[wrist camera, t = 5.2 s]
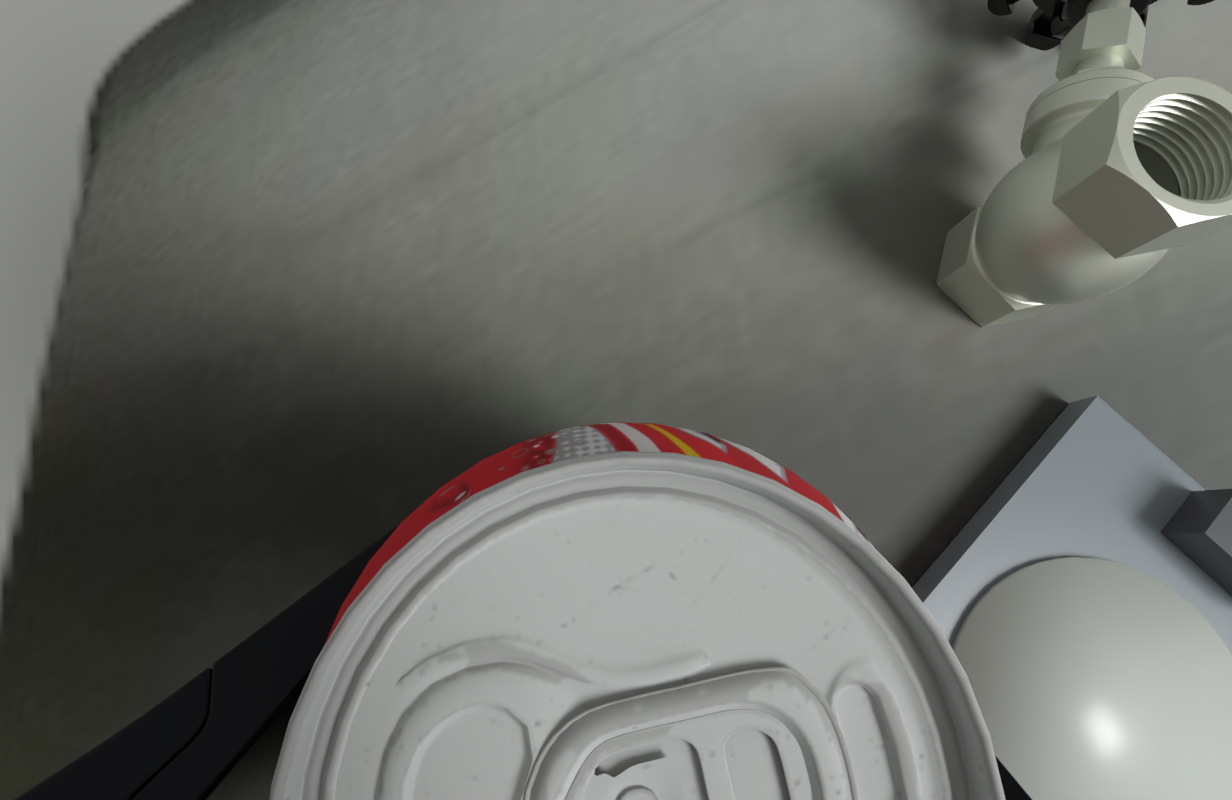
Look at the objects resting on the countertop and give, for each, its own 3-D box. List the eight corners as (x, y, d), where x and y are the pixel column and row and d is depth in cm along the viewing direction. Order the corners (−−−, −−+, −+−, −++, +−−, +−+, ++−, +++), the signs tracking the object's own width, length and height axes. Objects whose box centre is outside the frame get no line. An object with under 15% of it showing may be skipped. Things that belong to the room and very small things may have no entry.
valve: (1081, 366, 18) (1129, 54, 21) (1346, 280, 12) (1371, -158, 14) (875, 302, 18) (948, 1, 21) (1025, 183, 12) (1104, -231, 14)
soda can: (461, 506, 17) (136, 464, 5) (703, 455, 17) (937, 307, 5) (503, 777, 15) (192, 1634, 3) (764, 713, 16) (1260, 1268, 4)
